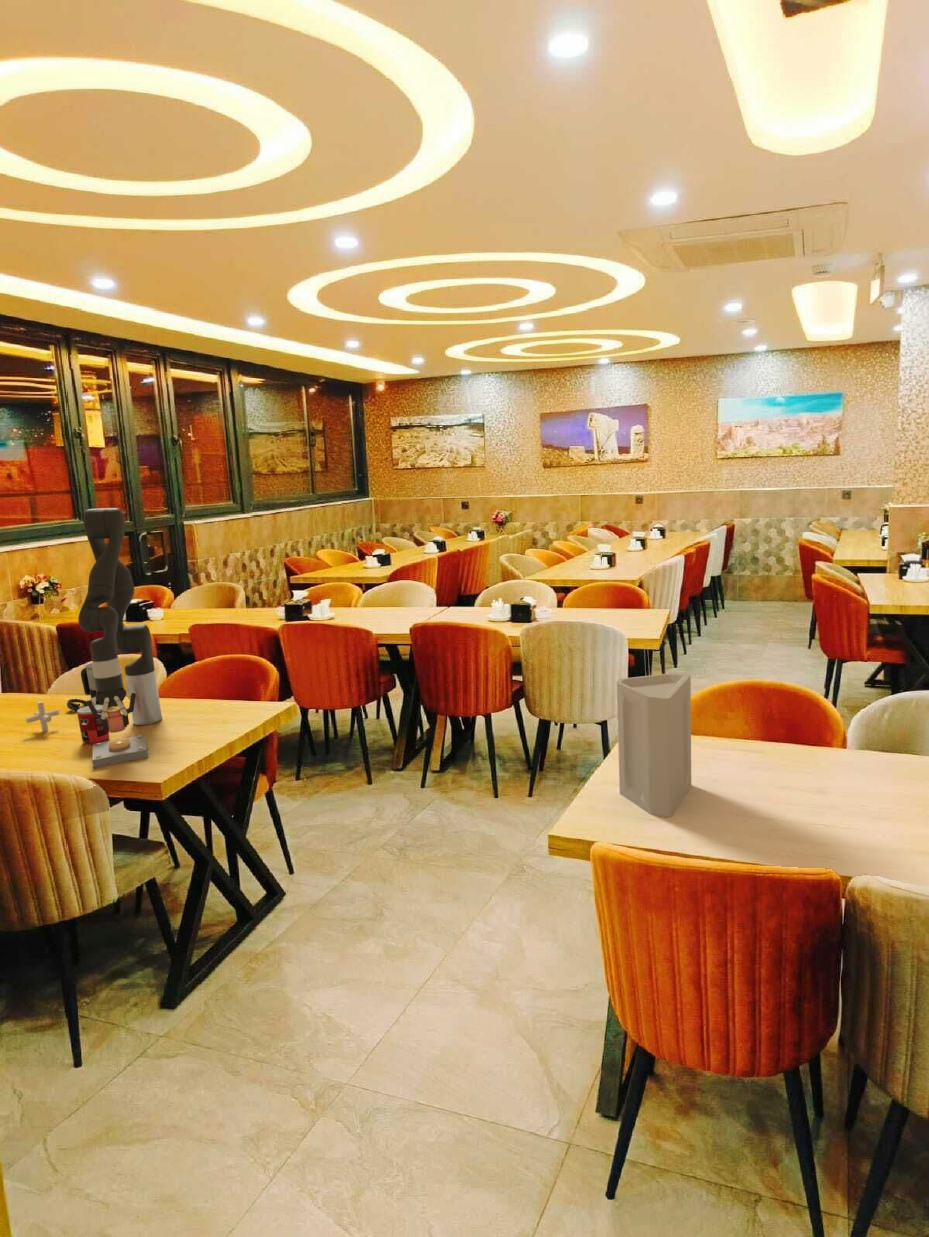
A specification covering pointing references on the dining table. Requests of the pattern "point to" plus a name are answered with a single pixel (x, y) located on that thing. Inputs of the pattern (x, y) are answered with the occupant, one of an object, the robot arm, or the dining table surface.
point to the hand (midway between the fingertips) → (116, 728)
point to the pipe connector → (42, 716)
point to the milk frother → (85, 688)
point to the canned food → (91, 726)
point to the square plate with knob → (119, 751)
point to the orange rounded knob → (115, 721)
